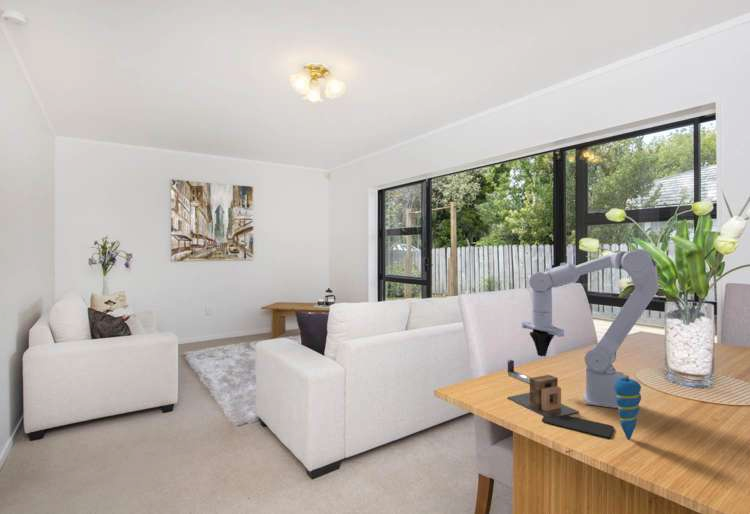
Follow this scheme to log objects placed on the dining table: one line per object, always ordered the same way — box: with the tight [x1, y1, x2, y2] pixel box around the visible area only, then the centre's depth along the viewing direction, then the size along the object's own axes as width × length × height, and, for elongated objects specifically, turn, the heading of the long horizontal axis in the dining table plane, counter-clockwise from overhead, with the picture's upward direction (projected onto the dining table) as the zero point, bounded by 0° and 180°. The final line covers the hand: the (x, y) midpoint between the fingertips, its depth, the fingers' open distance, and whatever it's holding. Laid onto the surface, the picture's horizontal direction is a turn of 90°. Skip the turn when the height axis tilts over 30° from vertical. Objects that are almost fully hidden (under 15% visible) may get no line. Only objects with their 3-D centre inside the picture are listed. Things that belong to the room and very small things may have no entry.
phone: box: [541, 415, 615, 440], centre depth 95 cm, size 7×1×15 cm
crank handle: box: [507, 359, 532, 386], centre depth 112 cm, size 13×2×5 cm, turn 23°
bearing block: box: [529, 374, 559, 409], centre depth 106 cm, size 3×7×7 cm, turn 113°
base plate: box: [507, 392, 580, 418], centre depth 107 cm, size 16×10×1 cm, turn 24°
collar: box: [541, 386, 562, 411], centre depth 104 cm, size 2×5×5 cm, turn 114°
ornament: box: [614, 373, 642, 440], centre depth 88 cm, size 5×5×15 cm
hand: (541, 355), depth 119 cm, fingers closed
